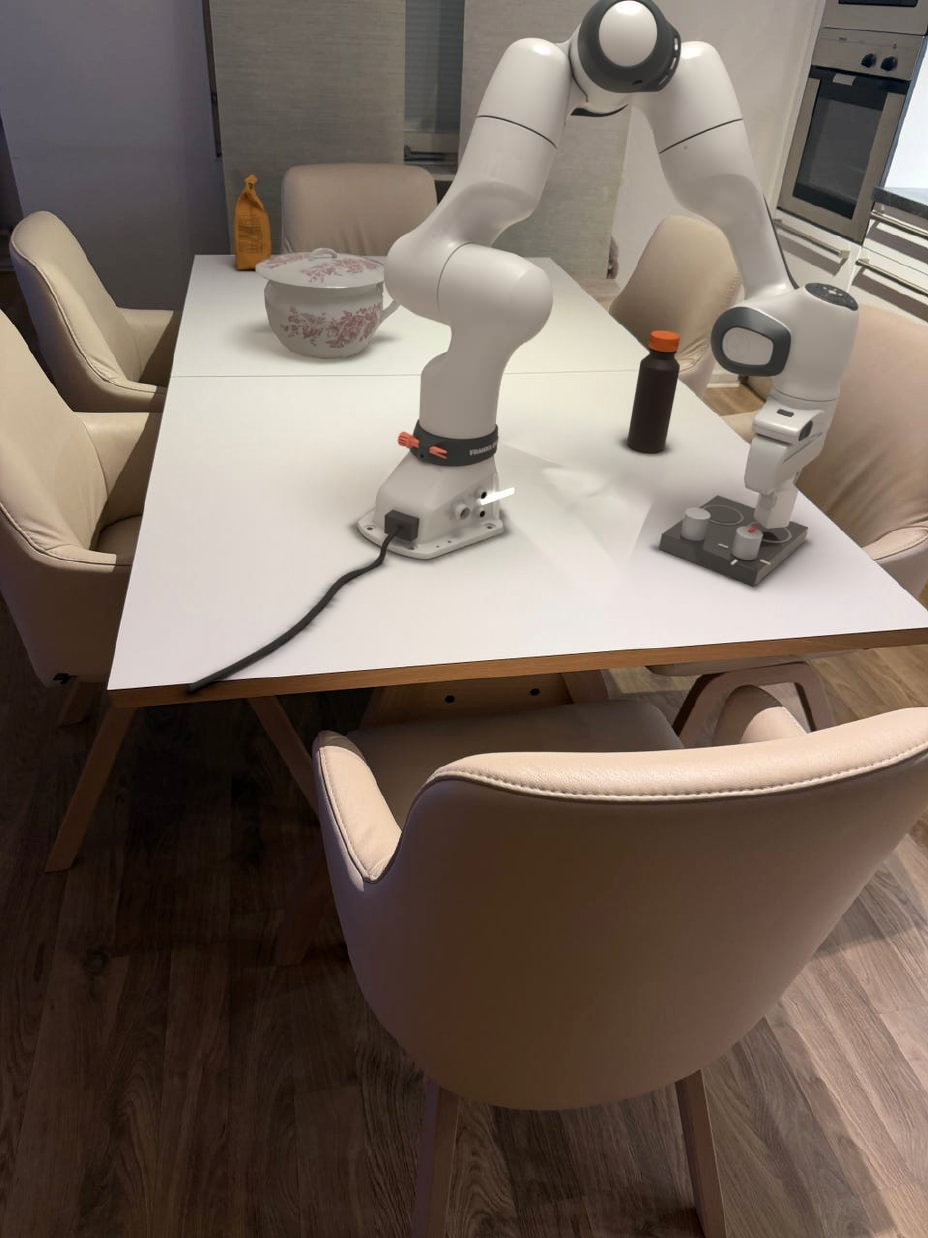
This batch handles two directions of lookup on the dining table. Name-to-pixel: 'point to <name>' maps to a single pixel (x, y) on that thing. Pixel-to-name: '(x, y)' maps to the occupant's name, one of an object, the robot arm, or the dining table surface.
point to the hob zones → (724, 523)
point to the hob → (719, 545)
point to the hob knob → (747, 543)
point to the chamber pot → (324, 301)
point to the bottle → (655, 394)
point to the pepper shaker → (778, 506)
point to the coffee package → (251, 229)
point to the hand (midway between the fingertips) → (775, 500)
